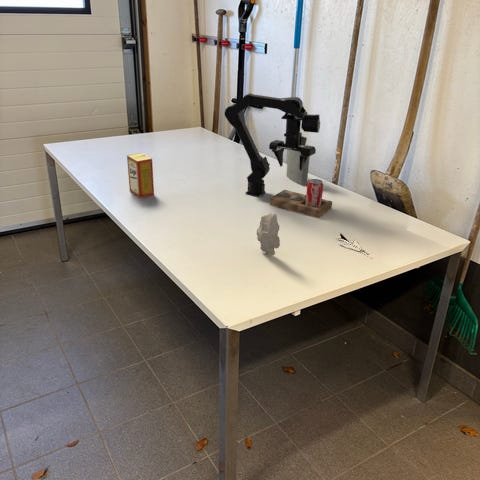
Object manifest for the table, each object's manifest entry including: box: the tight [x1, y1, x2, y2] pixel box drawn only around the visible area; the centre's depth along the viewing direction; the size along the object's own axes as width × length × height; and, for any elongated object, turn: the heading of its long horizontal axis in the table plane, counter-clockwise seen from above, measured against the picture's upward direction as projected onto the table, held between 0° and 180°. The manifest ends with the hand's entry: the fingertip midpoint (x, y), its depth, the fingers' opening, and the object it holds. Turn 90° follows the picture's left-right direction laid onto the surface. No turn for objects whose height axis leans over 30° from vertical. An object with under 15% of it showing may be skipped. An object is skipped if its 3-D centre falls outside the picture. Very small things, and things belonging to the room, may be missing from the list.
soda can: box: [305, 178, 324, 208], centre depth 191 cm, size 6×6×12 cm
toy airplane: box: [339, 232, 370, 255], centre depth 165 cm, size 8×21×2 cm, turn 29°
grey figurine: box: [256, 212, 281, 256], centre depth 155 cm, size 11×4×15 cm, turn 38°
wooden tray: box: [269, 189, 333, 219], centre depth 195 cm, size 22×12×3 cm, turn 57°
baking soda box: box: [126, 153, 155, 198], centre depth 201 cm, size 10×6×16 cm
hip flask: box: [285, 144, 311, 187], centre depth 220 cm, size 16×4×20 cm, turn 24°
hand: (290, 168), depth 198 cm, fingers open, 9 cm apart
